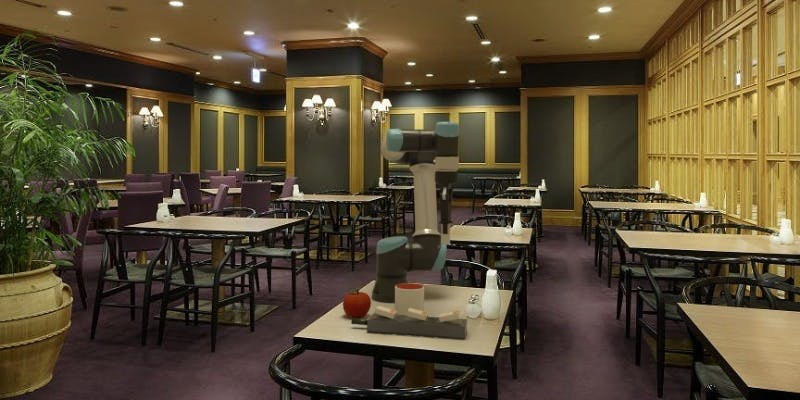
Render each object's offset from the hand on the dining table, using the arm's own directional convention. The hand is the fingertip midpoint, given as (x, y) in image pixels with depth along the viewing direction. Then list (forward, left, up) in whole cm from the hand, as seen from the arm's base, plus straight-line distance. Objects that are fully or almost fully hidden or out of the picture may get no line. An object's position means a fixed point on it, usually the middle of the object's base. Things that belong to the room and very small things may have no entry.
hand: (445, 243), depth 189 cm
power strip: (+11, -10, -26) cm, 30 cm away
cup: (-8, -13, -27) cm, 31 cm away
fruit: (-2, -30, -27) cm, 40 cm away
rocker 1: (+11, -17, -21) cm, 29 cm away
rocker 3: (+11, +3, -21) cm, 24 cm away
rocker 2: (+11, -7, -21) cm, 24 cm away
